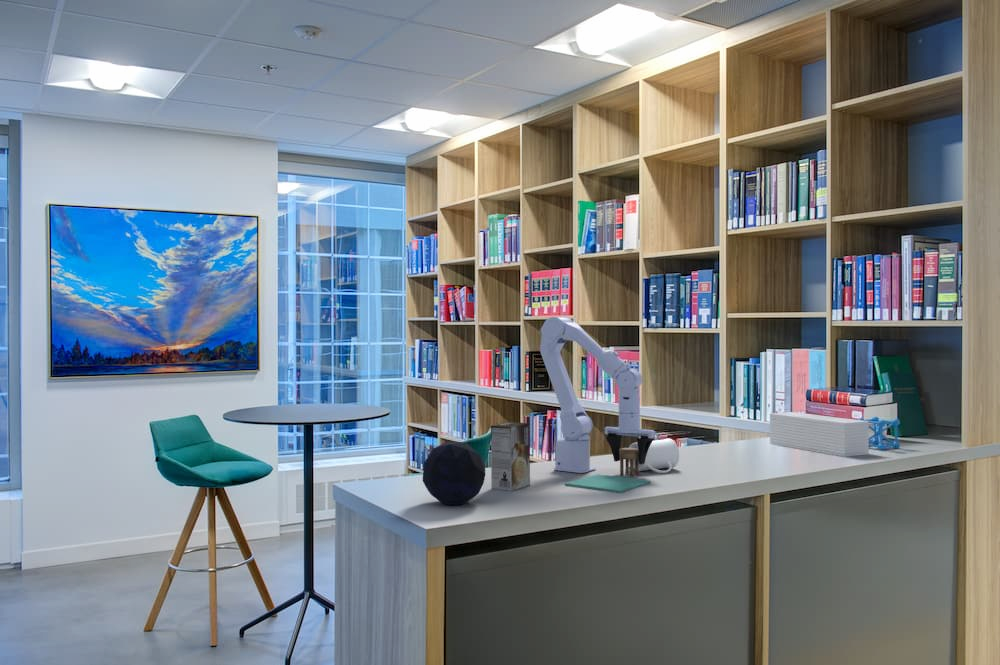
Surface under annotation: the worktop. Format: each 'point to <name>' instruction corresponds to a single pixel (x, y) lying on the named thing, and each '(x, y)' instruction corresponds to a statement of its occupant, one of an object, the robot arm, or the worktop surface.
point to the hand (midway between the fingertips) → (629, 462)
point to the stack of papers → (820, 433)
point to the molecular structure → (879, 433)
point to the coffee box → (510, 456)
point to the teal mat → (608, 483)
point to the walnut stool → (628, 455)
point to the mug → (659, 456)
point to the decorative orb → (454, 473)
